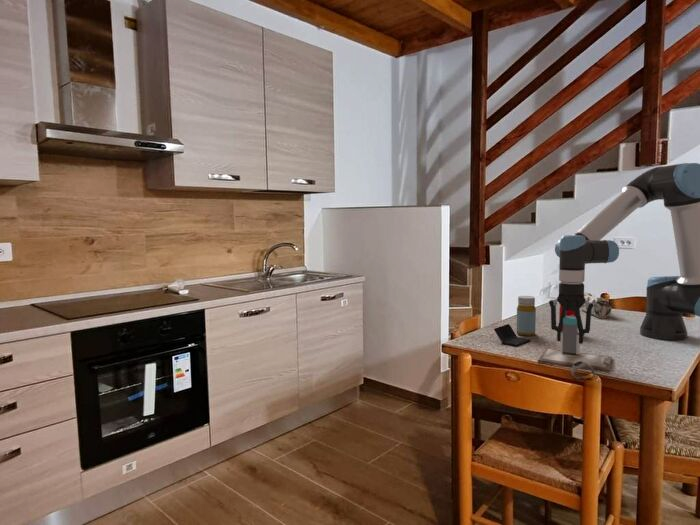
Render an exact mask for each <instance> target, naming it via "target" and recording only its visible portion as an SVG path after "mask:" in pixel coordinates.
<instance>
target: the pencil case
mask: <svg viewBox="0 0 700 525" xmlns="http://www.w3.org/2000/svg"><path fill="white" fill-rule="evenodd" d="M584 298H585V299H586V301H588V302H590V303H591V302H592V303H594V306H593V307H592V309H591V316H594V317H597V318H598V319H606V318H607V317H609V316H610V314H611V313H612V310H613V309H612V305H613V304H612V302H611V301H608V300H606V299H605V298H603V297H597V296H594V295H592V294H591V293H589V292H587V291H584ZM585 306H586V305H585V304H583V305H582V306H581V308H580V309H581V310H582V311H584V312H586V311H587V308H586V307H585Z"/></svg>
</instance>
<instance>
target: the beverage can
mask: <svg viewBox="0 0 700 525" xmlns="http://www.w3.org/2000/svg"><path fill="white" fill-rule="evenodd" d="M558 310H559V311H558V312H559V315H558V322H559V321H560V317H561V313H562V307H561V305H560V304H559V309H558ZM566 316H573V317H576V316H575V312H574V311H572V310H568V311H567V312H566ZM562 331H563V328H562Z"/></svg>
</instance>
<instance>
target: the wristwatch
mask: <svg viewBox="0 0 700 525" xmlns="http://www.w3.org/2000/svg"><path fill="white" fill-rule="evenodd" d="M584 365H587V366H589V365H588V364H587V363H586V362H583V361H579V362H576V363H575V364H574V365H573V367H571V370H570V374H571V376H572V377H573V378H574V379H575V380H585V379H584V378H585V376H586V375H579V376H575V372H576V371H577V370H580V369H582V367H583V366H584ZM589 367H590V368H591V369H592V370H591V372H590V373H589V374H593V376H594V375H595V372H596V370H594V369H593V368H592V367H591V366H589Z"/></svg>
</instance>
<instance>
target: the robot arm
mask: <svg viewBox="0 0 700 525" xmlns="http://www.w3.org/2000/svg"><path fill="white" fill-rule="evenodd" d="M658 200H659V201H660V200H662V201H663V206H664V208H666V209H667V210H669V211H670V216H671V222H672V228H673V234H674V241H675V247H676V248H675V249H676V255H677V259H678V260H677V261H678V267H679V273H680V275H671V276H668V275H667V276H651V277H649V278H648V279H647V282H646V300H645V303H646V307H645V309H646V310H645V311H646V312H645V316H644V318H643V320H642V323H641V325H640V327H639V334H640V335H641V336H644V337H646V338H650V339H657V340H664V341H684V340H686V339H688V329H687V327H686V324H685V320H684V315H683V314H687V315H692V316H696V317H698V318H700V163H698V162H684V163H677V164H672V165H671V164H670V165H665V166H656V167H653V168H651V169H648V170H646V171H645V172H643V173H641V174H639V175H638V176H637V177H635V178H634V179H632V180H631V181H630V182H629V183H627V185H625V186H624V187H623V188H622V189H621V193H620V194H619V195H618V196H617V197H616V198H614V199H613V200H612V201H611V202H610V203H609V204H607V205H606V206H605V207H603V209H601V210H600V211H599V212H598V213H597V214H596V215H594V216H593V217H592V218H591V219H589V220H588V221H587V222H586V223H585V224H584V225H583V226H582V227H580V228H579V229H578V230H577V231H576V232H575V233H573V234H571V235H567V234H566V235H562V236H561V237H560V239H559V240H558V241H556V244H555V246H554V253H555V255H556V256H557V257H558V258H559V271H558V275H559V276H558V281H559V283H558V296H557V297H556V298H554V299H550V300H549V302H548V304H549V308H550V329H551V330H553V331H556V341H557V342H560V348H559V350H560V352H563V331H562V328H563V318H565V316H566V312H567V311H568V310H572V311H574V312H575V316H576V319H577V326H578V333H577V334H576V354H579V353H580V345H583V343H584V337H585V336H584V335H585V334H589V333H590V331H591V320H592V315H591V309H592V307H593V306H594V303H592V302H591V303H590V302H588V301H586V299H585V298H584V292H585V284H584V282H585V272H586V271H585V270H586V265H587V264H607V263H608V264H609V263H614V262H615V261H616V260H617V259H618V258H619V256H620V247H619V245H618V243H617V242H615V241H614V240H610V239H609V240H608V239H603V238H605V236H607V235H608V234H609V233H610V232H612V231H613V229H615V228H616V227H617V226H618V225H619V224H621V223H622V222H623V221H624V220H625V219H627V217H629V216H630V215H631V214H632V213H633V212H635V211H636V210H637V209H641V208H644V207H645V206H646V205H647V204H649V203H652V202H654V201H658ZM602 239H603V240H602ZM558 304H559V306H560V305H561V307H562V313H561V317H560V321H559V320H558V324H557V305H558ZM583 304H585V305H586V306H585V307H586V308H587V311H586V314H585V324H584V325H585V326H584V325H583V321H582V316H581V310H580V309H581V306H582V305H583Z"/></svg>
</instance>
